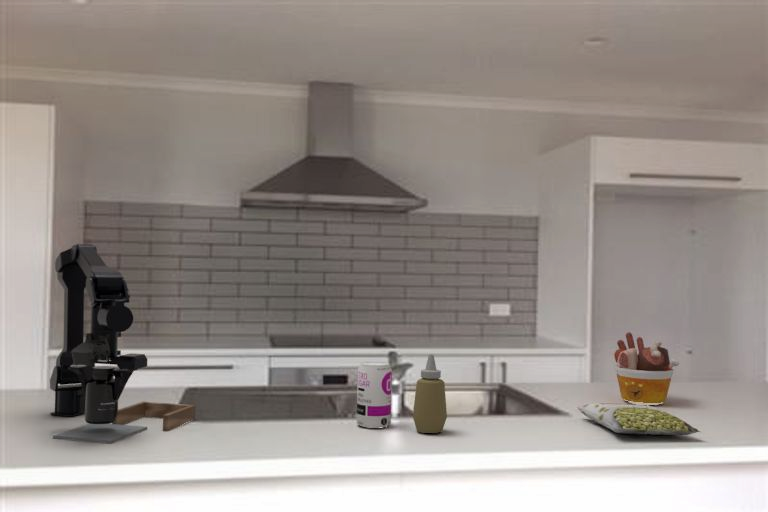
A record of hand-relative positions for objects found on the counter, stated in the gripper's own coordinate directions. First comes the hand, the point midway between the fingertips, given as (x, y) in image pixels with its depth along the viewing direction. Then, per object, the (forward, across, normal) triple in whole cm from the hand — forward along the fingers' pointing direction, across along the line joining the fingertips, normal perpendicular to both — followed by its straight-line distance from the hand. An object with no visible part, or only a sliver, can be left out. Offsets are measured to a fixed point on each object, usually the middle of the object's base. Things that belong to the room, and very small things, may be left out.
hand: (102, 398), depth 163 cm
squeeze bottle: (+8, +69, +26) cm, 74 cm away
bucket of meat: (+8, +122, +86) cm, 150 cm away
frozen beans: (+8, +116, +45) cm, 125 cm away
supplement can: (+8, +55, +28) cm, 62 cm away
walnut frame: (+8, +5, +13) cm, 16 cm away
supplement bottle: (+5, 0, 0) cm, 5 cm away
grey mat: (+8, 0, 0) cm, 8 cm away
